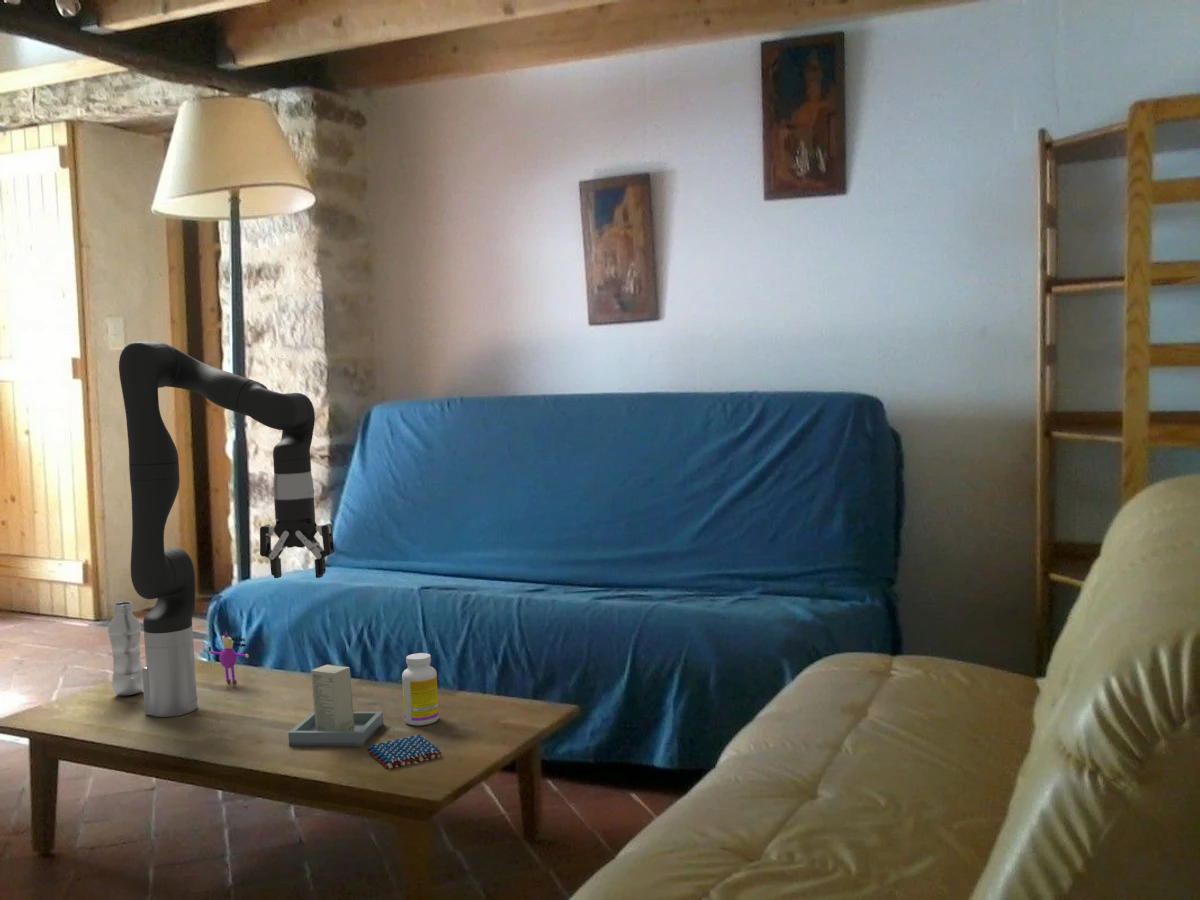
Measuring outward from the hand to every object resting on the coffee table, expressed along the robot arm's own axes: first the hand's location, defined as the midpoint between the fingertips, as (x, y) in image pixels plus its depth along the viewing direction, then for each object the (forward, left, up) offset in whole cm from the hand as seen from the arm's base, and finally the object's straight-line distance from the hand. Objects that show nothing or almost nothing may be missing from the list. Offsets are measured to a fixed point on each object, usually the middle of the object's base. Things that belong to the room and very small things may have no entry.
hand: (298, 577), depth 211 cm
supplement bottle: (+24, -2, -28) cm, 37 cm away
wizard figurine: (-27, +23, -28) cm, 45 cm away
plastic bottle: (-46, +15, -28) cm, 56 cm away
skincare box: (+10, -10, -28) cm, 31 cm away
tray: (+10, -10, -28) cm, 31 cm away
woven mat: (+26, -20, -29) cm, 44 cm away
